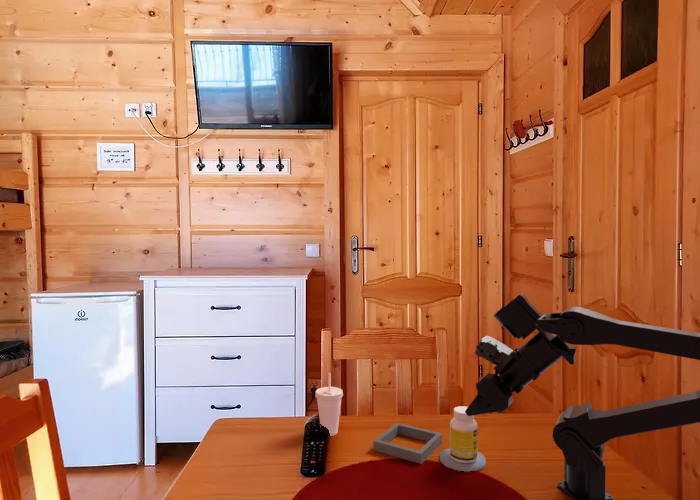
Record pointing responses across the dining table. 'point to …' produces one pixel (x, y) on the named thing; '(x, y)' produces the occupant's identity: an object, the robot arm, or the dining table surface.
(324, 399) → the smoothie
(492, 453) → the dining table surface
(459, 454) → the supplement bottle
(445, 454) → the coaster
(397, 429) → the frame
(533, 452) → the dining table surface
